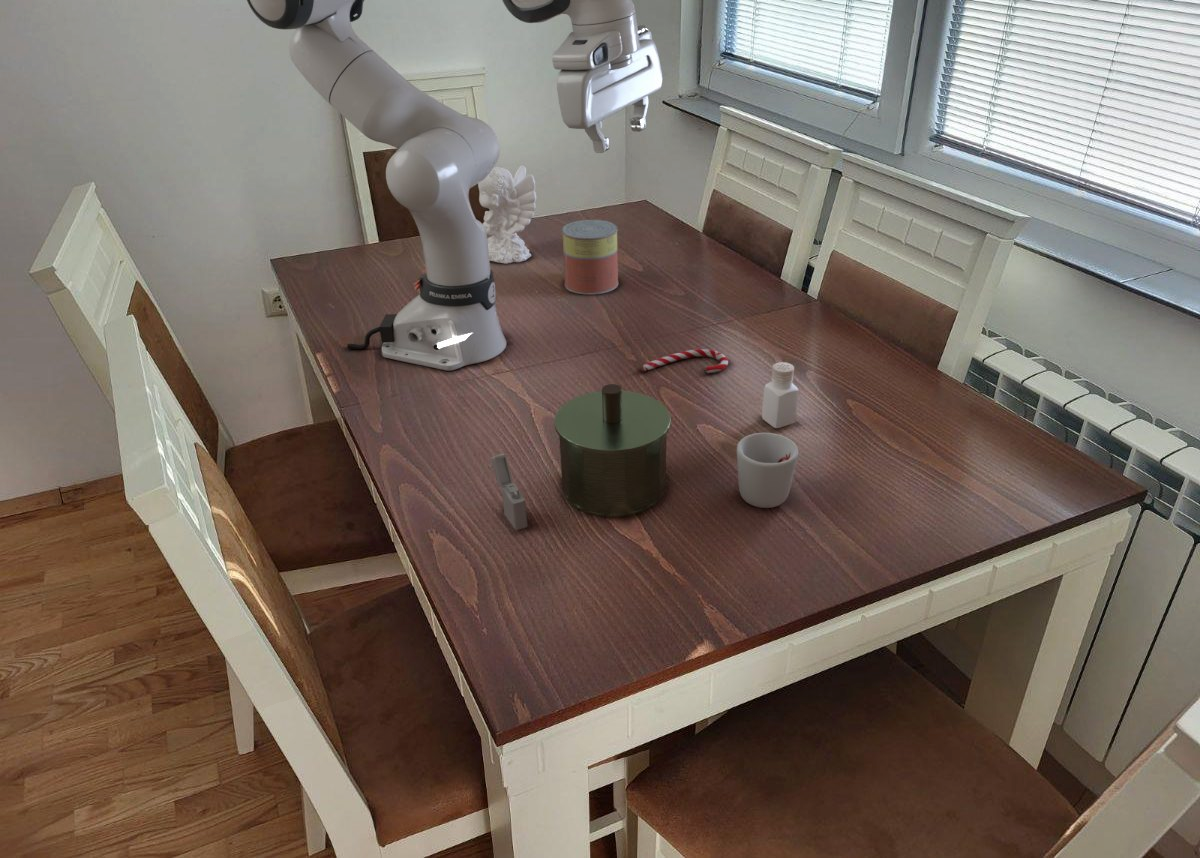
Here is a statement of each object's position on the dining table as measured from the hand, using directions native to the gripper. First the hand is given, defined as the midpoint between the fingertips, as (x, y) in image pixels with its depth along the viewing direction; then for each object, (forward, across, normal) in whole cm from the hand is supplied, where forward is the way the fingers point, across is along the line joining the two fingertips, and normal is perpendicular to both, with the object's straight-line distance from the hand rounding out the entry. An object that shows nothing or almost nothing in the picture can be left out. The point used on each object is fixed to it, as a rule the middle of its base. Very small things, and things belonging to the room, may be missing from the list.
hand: (621, 140), depth 130 cm
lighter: (+36, +44, +7) cm, 57 cm away
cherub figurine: (+38, -29, -59) cm, 76 cm away
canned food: (+40, -25, -33) cm, 58 cm away
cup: (+40, +20, +31) cm, 55 cm away
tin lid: (+27, +30, +15) cm, 43 cm away
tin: (+38, +31, +14) cm, 51 cm away
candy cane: (+41, -5, +3) cm, 41 cm away
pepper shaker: (+42, +3, +25) cm, 48 cm away
